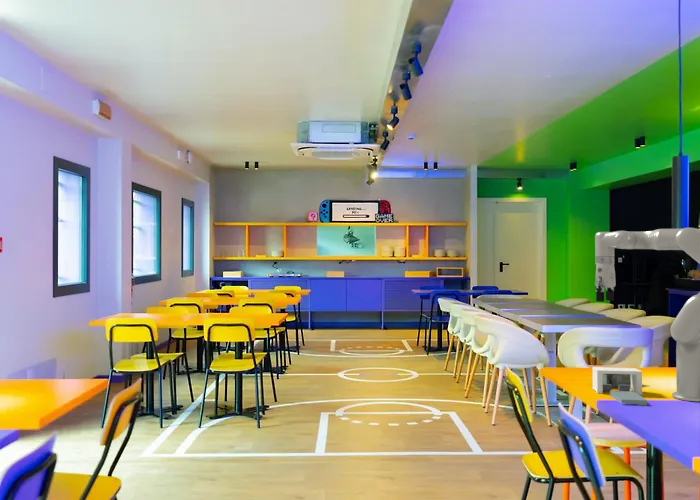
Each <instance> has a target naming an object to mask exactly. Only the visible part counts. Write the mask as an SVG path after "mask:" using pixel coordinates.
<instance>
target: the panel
mask: <svg viewBox="0 0 700 500" xmlns="http://www.w3.org/2000/svg"><path fill="white" fill-rule="evenodd" d="M609 396H610V397H612V398H613V399H614V400H615V399H616V400H617V401H616V400H615V401H616V402H618V401H619V402H620V403H625V404H638V405H637V406H648V400H647V399H646V398H644V397H643V396H642V395H639V394H637V393H636V392H634V391H631V390H630V391H619V390H613V389H612V390H610V391H609ZM619 402H618V403H619ZM620 403H619V404H620Z"/></svg>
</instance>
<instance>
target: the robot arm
mask: <svg viewBox="0 0 700 500" xmlns="http://www.w3.org/2000/svg"><path fill="white" fill-rule="evenodd" d="M594 246H595V247H594V249H595V250H594V258H595V259H594V261H595V263H594V264H595V267H596V268H595V281H594V286H595V296H596V297H595V300H596V302H605V300H606V301H607V302H608V301H609V302H610V301H612V302H613V301H614V300H615V287H616V285H617V284H616V281H617V280H616V270H615V249H620V250H656V251H670V250H671V251H683V252H685V253H686V254H687V255H688V256H690V257H691V259H693V260H694V261H695V262H697V263H698V264H699V265H700V229H699V228H695V227H683V228H658V229H654V230H648V231H647V230H646V231H645V230H644V231H627V230H616V231H598V232H596V233H595V236H594ZM605 289H606V291H605ZM604 291H605V292H604ZM669 330H670V335H671V337H672V339H673V340H674V341H675V342H676V345H675V347H676V349H675V354H676V355H675V356H676V357H675V361H676V363H675V364H676V367H675V368H676V369H675V370H676V392H673V393H672V394H671V396H672V397H673V398H674V399H675V400H676V399H678V400H681V401H686V402H688V401H689V402H700V291H698V293H697V294H694V295H692V296H691V297H689V299H687V300H686V302H685V303H684V305H683V307H682V308H681V309H680V311H679V312H678V314H677V315H676V317H675V319H674V320H673V322H672V323H671V325H670V329H669Z"/></svg>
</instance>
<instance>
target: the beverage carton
mask: <svg viewBox="0 0 700 500" xmlns="http://www.w3.org/2000/svg"><path fill="white" fill-rule="evenodd" d="M603 384H611V385H612V389H613V387H614V388H618V384H619V385H630V386H631V374H603Z"/></svg>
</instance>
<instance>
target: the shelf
mask: <svg viewBox="0 0 700 500" xmlns="http://www.w3.org/2000/svg"><path fill="white" fill-rule="evenodd" d="M603 374H631V385H619V384H618V387H617V388H618V389H617V391H634V392H636V393H637V394H639V395H640V396H642V395H643V371H642V370H640V369H638V368H636V367H608V366H607V367H605V366H604V367H603V366H602V367H601V366H592V390H593V389H594V390H595V391H596V392H595V391H594V390H593V391H594V392H595V393H597V394H603V393H604V392H603V391H608V392H610V390H612V391H613V388H612V385H611V384H603Z"/></svg>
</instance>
